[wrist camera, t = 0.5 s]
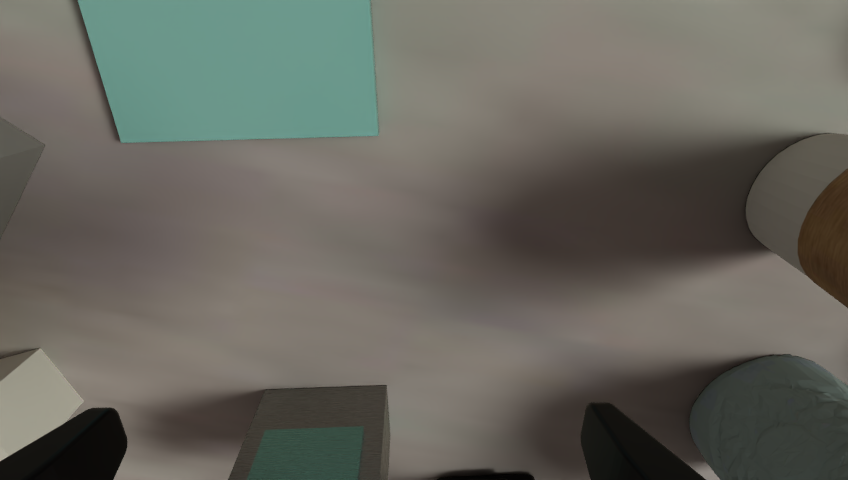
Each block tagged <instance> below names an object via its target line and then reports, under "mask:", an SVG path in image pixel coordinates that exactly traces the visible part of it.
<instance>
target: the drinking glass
mask: <svg viewBox="0 0 848 480" xmlns="http://www.w3.org/2000/svg"><path fill="white" fill-rule="evenodd" d="M689 425H690V432H691V435H692V438H693V441H694V442H695V444H696V446H697V447H698V449H699V451H700V452H701V454H702V456H703V457H704V459H705V460H706V462H707V463H708V465H709V466H710V467H711V468H712V470H713V471H714V472H715V474H716V475H717V476H718V477H719V478H720V480H848V385H846V384H845V383H843V382H842V381H840V380H839V379H838V378H836V377H835V376H834V375H832V374H831V373H830V372H828V371H827V370H825V369H824V368H822V367H821V366H819V365H818V364H816V363H815V362H813V361H810V360H807V359H804V358H801V357H798V356H792V355H790V354H787V355H781V356H777V355H773V356H765V357H762V358H758V359H755V360H752V361H748V362H746V363H743V364H741V365H739V366H736V367H733V368H732V369H731V370H729V371H726V372H725V373H723V374H721V375H720V376H718V377H717V378H716V379H715V380H713V381H712V382H711V383H710V384H709V385H708V386H707V387H706V388H705V389H704V390H703V392H702V393H701V394H700V395H699V397H698V398H697V400H696V401H695V403H694V405H693V407H692V410H691V414H690V419H689Z"/></svg>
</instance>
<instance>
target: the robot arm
mask: <svg viewBox="0 0 848 480" xmlns="http://www.w3.org/2000/svg"><path fill="white" fill-rule="evenodd" d="M581 445H582V449H583V453H584V457H585V460H586V464H587V468H588V471H589V475H590V479H591V480H706V479H704V478H703V477H702V476H701V475H700V474H698V473H697V472H696V471H695V470H693V469H692V468H691V467H690V466H688V465H687V464H686V463H685V462H683V461H682V460H681V459H680V458H678V457H677V456H676V455H675V454H673V453H672V452H671V451H670V450H668V449H667V448H666V447H665V446H663V445H662V444H661V443H660V442H658V441H657V440H656V439H655V438H653V437H652V436H651V435H650V434H648V433H647V432H646V431H645V430H643V429H642V428H641V427H640V426H638V425H637V424H636V423H635V422H634V421H632V420H631V419H630V418H629V417H627V416H626V415H625V414H624V413H622V412H621V411H620V410H619V409H617V408H616V407H615V406H614V405H612V404H610V403H607V402H600V403H589V404H588V405H587V407H586V410H585V415H584V420H583V425H582V430H581ZM126 449H127V436H126V434H125V431H124V428H123V425H122V422H121V419H120V417H119V414H118V412H117V411H116V410H115V409H114V408H91V409H88V410H86V411H84V412H83V413H81V414H79V415H78V416H76V417H74V418H72V419H71V420H69V421H67V422H66V423H64V424H62V425H61V426H59V427H57V428H56V429H54V430H52V431H50V432H49V433H47V434H45V435H44V436H42V437H40V438H39V439H37V440H35V441H34V442H32V443H30V444H28V445H27V446H25V447H23V448H22V449H20V450H18V451H17V452H15V453H13V454H11V455H10V456H8V457H6V458H5V459H3V460H1V461H0V480H113V479H114V477H115V475H116V472H117V470H118V468H119V466H120V464H121V462H122V459H123V457H124V455H125V452H126ZM438 480H535V479H534V477H533V476H532V475H503V476H478V477H452V478H440V479H438Z"/></svg>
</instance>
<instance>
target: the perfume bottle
mask: <svg viewBox="0 0 848 480" xmlns="http://www.w3.org/2000/svg"><path fill="white" fill-rule="evenodd" d="M44 146H45V145H44V144H43V143H41V142H39V141H38V140H36V139H35V138H33V137H31V136H30V135H28V134H27V133H25V132H23V131H22V130H20V129H18V128H17V127H15V126H14V125H12V124H10V123H9V122H7V121H6V120H4V119H2V118H1V117H0V238H1V236H2V234H3V232H4V230H5V228H6V226H7V224H8V222H9V219H10V217H11V215H12V213H13V211H14V209H15V207H16V205H17V203H18V201H19V199H20V197H21V194H22V192H23V190H24V188H25V186H26V184H27V182H28V180H29V178H30V176H31V174H32V171H33V169H34V167H35V165H36V163H37V161H38V159H39V157H40V155H41V153H42V151H43V148H44Z"/></svg>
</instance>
